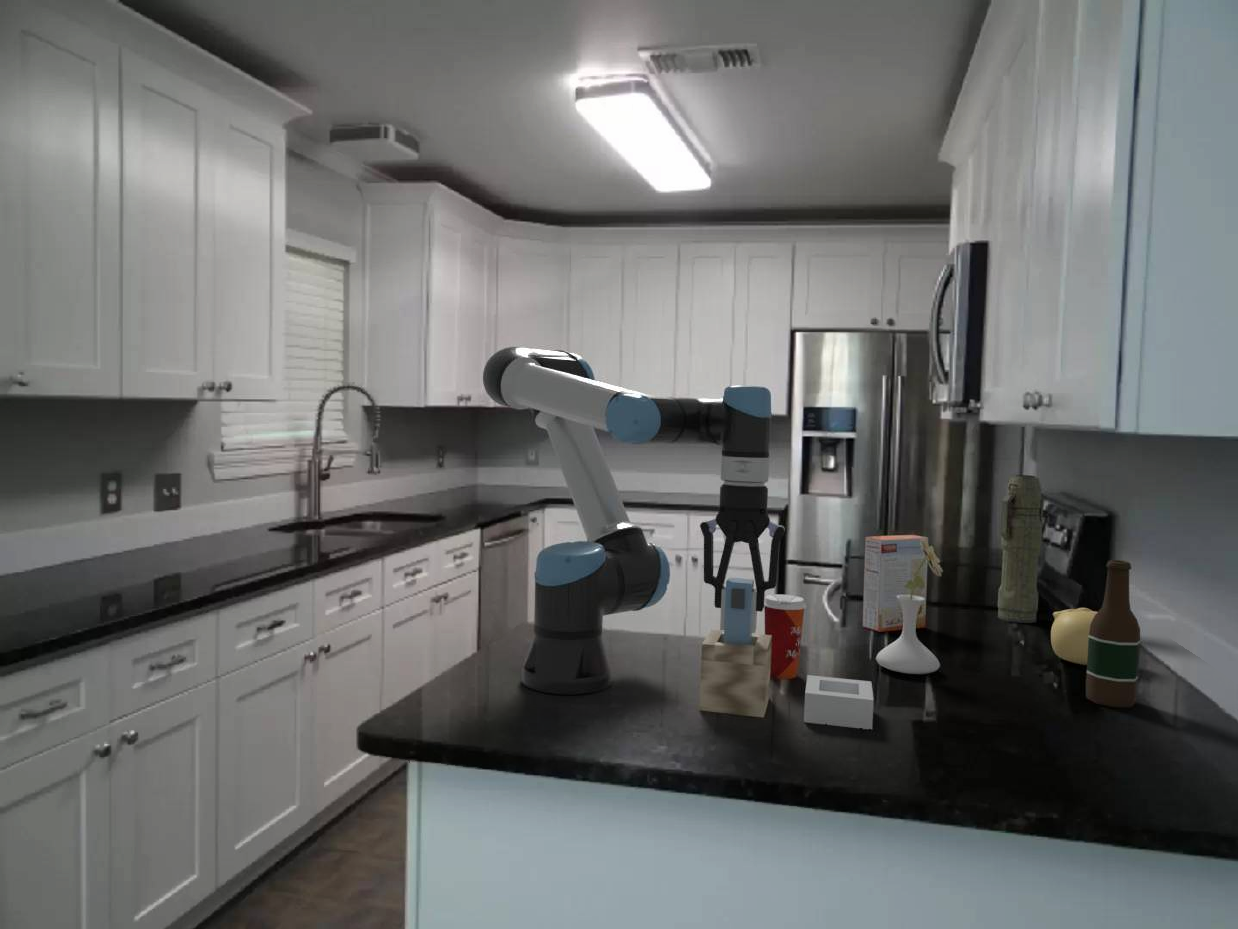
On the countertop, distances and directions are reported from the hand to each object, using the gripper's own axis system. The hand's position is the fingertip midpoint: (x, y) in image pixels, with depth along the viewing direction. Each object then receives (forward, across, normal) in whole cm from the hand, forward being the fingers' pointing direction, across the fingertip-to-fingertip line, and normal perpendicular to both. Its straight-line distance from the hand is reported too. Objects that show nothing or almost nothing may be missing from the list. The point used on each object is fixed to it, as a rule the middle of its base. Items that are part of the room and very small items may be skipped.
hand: (738, 629), depth 141 cm
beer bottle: (+12, +61, +24) cm, 67 cm away
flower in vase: (+12, +29, +32) cm, 45 cm away
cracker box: (+12, +28, +68) cm, 75 cm away
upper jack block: (+12, 0, 0) cm, 12 cm away
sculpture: (+12, +63, +51) cm, 82 cm away
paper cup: (+12, +6, +20) cm, 24 cm away
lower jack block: (+12, +16, 0) cm, 20 cm away
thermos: (+12, +58, +90) cm, 108 cm away
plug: (+4, 0, 0) cm, 4 cm away
